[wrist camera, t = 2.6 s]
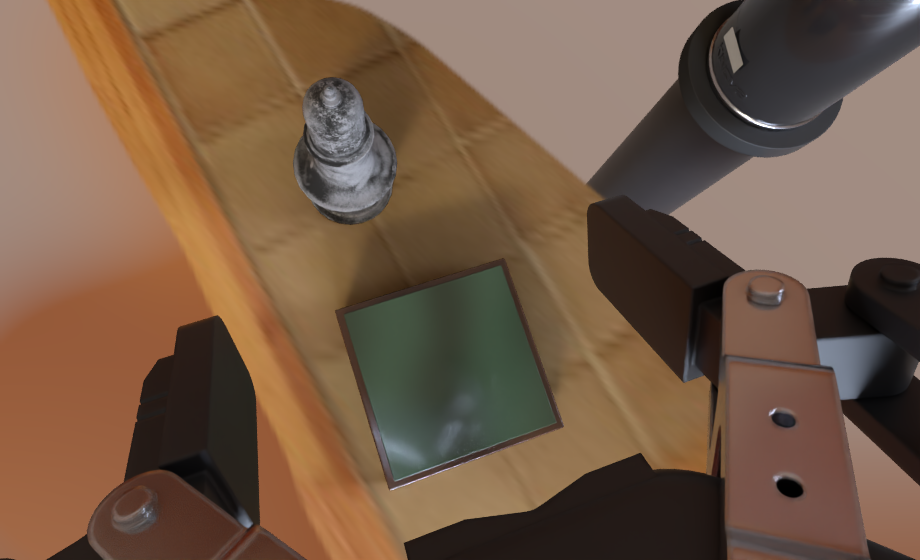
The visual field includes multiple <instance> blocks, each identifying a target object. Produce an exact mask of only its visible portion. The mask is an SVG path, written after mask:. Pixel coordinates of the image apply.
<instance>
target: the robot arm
mask: <svg viewBox="0 0 920 560" xmlns="http://www.w3.org/2000/svg"><path fill="white" fill-rule="evenodd" d="M918 46H920V0H745V1H744V2H743V3H742V4H741V5H740V6H739V8H738V9H737V10H736V11H735V12H734V13H733V14H732V16H731V17H730V18H728V19H727V20H726V21H725V22H724V23H723V24H722V25H721V26H720V27H719V29H718V30H717V31H716V32H715V33H714V35H713V36H712V38H711V40H710V42H709V45H708V48H707V52H706V73H707V77H708V81H709V84H710V86H711V88H712V90H713V92H714V94H715V96H716V97H717V99H718V100H719V102H720V103H721V104H722V105H723V106H724V108H725V109H726V110H727V111H728V112H729V113H731V114H732V115H733V116H734V117H736V118H737V119H739V120H740V121H742V122H744V123H745V124H747V125H750V126H752V127H755V128H757V129H761V130H766V131H774V132H782V131H789V130H793V129H796V128H799V127H801V126H803V125H805V124H807V123H808V122H810V121H811V120H813V119H814V118H816V117H817V116H818V115H819V114H821V112H822V111H824V110H825V109H826V108H828V107H829V106H831V105H832V104H834V103H835V102H837V101H838V100H840V99H841V98H843V97H844V96H846V95H847V94H849V93H850V92H852V91H853V90H855V89H856V88H858V87H859V86H861V85H862V84H864V83H865V82H867V81H868V80H870V79H871V78H873V77H874V76H876V75H877V74H879V73H880V72H881V71H883V70H884V69H886V68H887V67H889V66H890V65H892V64H893V63H895V62H896V61H898V60H899V59H901V58H902V57H904V56H905V55H907V54H908V53H909V52H911V51H912V50H914V49H915V48H917V47H918ZM587 227H588V259H589V269H590V273H591V276H592V278H593V281H594V283H595V284H596V286H597V288H598V289H599V290H600V291H601V292H602V293H603V295H604V296H605V297H606V298H607V299H608V300H609V301H610V302H611V303H612V304H613V306H614V307H615V308H616V309H617V310H618V311H619V312H620V313H621V314H622V315H623V317H624V318H625V319H626V320H627V321H628V322H629V323H630V324H631V325H632V326H633V328H634V329H635V330H636V331H637V332H638V333H639V334H640V335H641V336H642V337H643V339H644V340H645V341H646V342H647V343H648V344H649V345H650V346H651V347H652V348H653V350H654V351H655V352H656V353H657V354H658V355H659V356H660V357H661V358H662V359H663V361H664V362H665V363H666V364H667V365H668V366H669V367H670V368H671V369H672V370H673V372H674V373H675V374H676V375H677V376H678V377H679V378H680V379H681V380H682V381H683V383H685V382H687V381H690V380H693V379H696V378H698V377H701V376H704V375H705V376H706V377H707V378H708V379H709V380H710V381H711V383H710V391H709V412H708V442H707V468H706V474H705V473H700V472H695V471H689V470H679V469H657V470H653V469H652V468H651V467H650V465H649V464H648V462H647V461H646V460H645V458H644V457H643V455H642V454H641V453H639V454H636V455H634V456H631V457H628V458H626V459H623V460H621V461H618V462H615V463H613V464H610V465H607V466H605V467H602V468H599V469H597V470H594V471H592V472H589V473H586V474H585V475H583V476H582V477H580V478H579V479H577V480H576V481H575V482H573V483H572V484H570V485H569V486H568V487H566V488H565V489H563V490H562V491H561V492H559V493H558V494H556V495H555V496H553V497H552V498H551V499H549V500H548V501H546V502H545V503H544V504H542V505H541V506H539V507H538V508H536V509H534V510H531V511H527V512H521V513H513V514H505V515H497V516H489V517H482V518H474V519H466V520H463V521H460V522H458V523H455V524H452V525H450V526H447V527H444V528H442V529H439V530H436V531H434V532H431V533H429V534H426V535H423V536H421V537H418V538H415V539H413V540H410V541H408V542H405V543H404V546H405V550H406V554H407V558H408V560H915V559H913V558H910V557H908V556H906V555H903V554H901V553H899V552H896V551H894V550H891V549H889V548H887V547H884V546H882V545H880V544H877V543H875V542H872V541H870V540H868V539H866V535H865V530H864V524H863V519H862V514H861V509H860V503H859V498H858V493H857V487H856V481H855V476H854V471H853V465H852V460H851V455H850V449H849V444H848V439H847V433H846V428H845V423H844V417H843V414H844V415H845V416H846V417H847V418H848V419H849V420H851V421H852V422H853V423H854V424H855V425H856V426H857V427H858V428H859V429H860V430H861V431H862V432H863V433H864V434H865V435H866V436H868V437H869V438H870V439H871V440H872V441H873V442H874V443H875V444H876V445H877V446H878V447H879V448H880V449H881V450H882V451H883V452H884V453H885V454H887V455H888V456H889V457H890V458H891V459H892V460H893V461H894V462H895V463H896V464H897V465H898V466H899V467H900V468H901V469H902V470H903V471H905V472H906V473H907V474H908V475H909V476H910V477H911V478H912V479H913V480H914V481H915V482H916V483H917V484H918V485H920V380H919V379H918V378H916V377H915V376H914V372H915V370H916V367H917V365H918V363H919V362H920V264H918V263H915V262H911V261H907V260H903V259H896V258H874V259H869V260H865V261H863V262H860V263H859V264H857V265H856V266H855V267H854V268H853V270H852V272H851V276H850V279H849V282H848V285H845V286H833V287H822V288H811V289H806V288H805V287H804V286H803V284H801V283H800V282H799V281H797V280H796V279H794V278H792V277H790V276H788V275H785V274H782V273H779V272H775V271H769V270H748V271H745V270H744V269H743V268H741V267H740V266H738V265H737V264H736V263H734V262H733V261H732V260H730V259H729V258H728V257H726V256H725V255H724V254H722V253H721V252H720V251H718V250H717V249H716V248H714V247H713V246H712V245H710V244H709V243H708V242H706V241H705V240H704V241H702V239H701V237H700V236H698V235H697V234H695V233H694V232H693V231H689V228H687V227H686V226H685V225H683V224H682V223H681V222H679V221H678V220H677V219H675V218H674V217H672V216H669V215H667V214H664V213H661V212H658V211H655V210H652V209H649V210H646V211H645V210H644V209H642V208H641V207H640V206H638V205H637V204H636V203H635V202H633V201H632V200H631V199H629V198H628V197H627V196H625V195H619V196H616V197H612V198H609V199H606V200H602V201H599V202H596V203H593V204H590V205H589V207H588V211H587ZM140 403H141V405H139V408H138V413H137V422H136V423H135V428H134V433H133V438H132V443H131V448H130V453H129V458H128V463H127V468H126V473H125V478H124V482H123V483H122V484H120V485H119V486H118V487H116V488H115V489H114V490H113V491H111V492H110V493H109V494H108V495H107V496H106V497H105V498H104V499H103V500H102V501H101V503H100V504H99V505H98V507H97V508H96V509H95V511H94V513H93V515H92V517H91V519H90V521H89V524H88V529H87V534H86V535H85V536H84V537H82V538H81V539H79V540H78V541H76V542H75V543H73V544H71V545H70V546H68V547H67V548H65V549H63V550H62V551H60V552H58V553H57V554H55V555H53V556H52V557H50V558H48V559H47V560H306V559H305V558H304V557H302V556H301V555H300V554H298V553H297V552H296V551H294V550H293V549H292V548H290V547H288V545H286V544H285V543H284V542H282V541H281V540H279V539H278V538H277V537H275V536H274V535H273V534H271V533H270V532H269V531H267V530H266V529H264V528H262V527H261V526H260V512H259V483H258V482H259V481H258V451H257V417H256V396H255V390H254V386H253V383H252V380H251V377H250V374H249V372H248V370H247V367H246V366H245V364H244V362H243V360H242V358H241V356H240V354H239V352H238V350H237V348H236V346H235V344H234V342H233V340H232V338H231V336H230V334H229V332H228V330H227V328H226V326H225V324H224V322H223V321H222V319H221V318H220V317H219V316H213V317H210V318H207V319H203V320H200V321H197V322H194V323H191V324H187V325H184V326H180V327H179V328H178V330H177V336H176V343H175V350H174V355H171V356H168V357H165V358H162V359H159V360H158V361H157V362H156V364H155V365H154V367H153V368H152V370H151V371H150V373H149V374H148V375H147V377H146V378H145V380H144V382H143V387H142V393H141V397H140ZM0 560H14V559H8V558H6V559H0Z"/></svg>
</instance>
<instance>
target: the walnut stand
mask: <svg viewBox="0 0 920 560" xmlns="http://www.w3.org/2000/svg"><path fill="white" fill-rule="evenodd" d="M335 313H336V316H337V320H338V323H339V326H340V329H341V333H342V336H343V339H344V343H345V346H346V349H347V353H348V356H349V359H350V362H351V366H352V369H353V372H354V376H355V379H356V382H357V386H358V389H359V392H360V395H361V399H362V402H363V405H364V409H365V412H366V415H367V419H368V422H369V425H370V428H371V432H372V435H373V438H374V442H375V445H376V448H377V452H378V455H379V458H380V461H381V465H382V468H383V471H384V475H385V478H386V481H387V485H388V488H389V490H393V489H396V488H399V487H402V486H404V485H407V484H410V483H412V482H415V481H418V480H421V479H423V478H426V477H429V476H432V475H434V474H437V473H440V472H443V471H445V470H448V469H451V468H454V467H456V466H459V465H462V464H465V463H467V462H470V461H473V460H475V459H478V458H481V457H484V456H486V455H489V454H492V453H495V452H497V451H500V450H503V449H506V448H508V447H511V446H514V445H517V444H519V443H522V442H525V441H528V440H530V439H533V438H536V437H538V436H541V435H544V434H547V433H549V432H552V431H555V430H558V429H560V428H563V427H564V425H563V422H562V419H561V416H560V413H559V411H558V408H557V405H556V402H555V399H554V396H553V394H552V391H551V388H550V385H549V382H548V380H547V377H546V374H545V371H544V368H543V365H542V363H541V360H540V357H539V354H538V351H537V349H536V346H535V343H534V340H533V337H532V334H531V332H530V329H529V326H528V323H527V320H526V318H525V315H524V312H523V309H522V306H521V304H520V301H519V298H518V295H517V292H516V289H515V287H514V284H513V281H512V278H511V275H510V273H509V270H508V267H507V264H506V261H505V259H504V258H502V259H499V260H496V261H493V262H489V263H486V264H483V265H480V266H477V267H473V268H470V269H467V270H464V271H460V272H457V273H454V274H451V275H448V276H444V277H441V278H438V279H435V280H432V281H428V282H425V283H422V284H419V285H415V286H412V287H409V288H406V289H403V290H399V291H396V292H393V293H390V294H386V295H383V296H380V297H377V298H374V299H370V300H367V301H364V302H361V303H358V304H354V305H351V306H348V307H345V308H341V309H338V310H336V311H335Z"/></svg>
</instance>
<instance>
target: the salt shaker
mask: <svg viewBox="0 0 920 560" xmlns="http://www.w3.org/2000/svg"><path fill="white" fill-rule="evenodd" d="M302 108H303V115H304V118H305V121H306V123H305V125H304V132H303V136H302V137H301V138H300V140H299V142H298V145H297V147H296V149H295V153H294V160H293V166H294V174H295V177H296V179H297V182H298V184H299V186H300V188H301V189H302V191H303V192H304V193H305V194H306V196H307V197H308V198H309V199H311V200H312V203H313V205H314V206H315V207H316V209H317V210H318V211H319V212H320V213H321V214H322V215H324V216H325V217H326V218H328V219H329V220H332V221H335V222H337V223H341V224H350V225H352V224H359V223H363V222H366V221H368V220H371V219H373V218H374V217H375V216H377V215H378V214H379V213H381V211H382V210H383V209H384V208H385V206H386V205H387V204H388V201H389V199H390V196H391V193H392V183H393V181H394V178H395V176H396V168H397V159H396V153H395V149H394V147H393V145H392V143H391V141H390V139H389V137H388V136H387V135H386V134H385V133H384V131H383V130H382V129H381V128H379V127H378V126H376V125H375V124H374V123H372V122H371V119H370V117H369V116H368V115H367V113H366V112H365V111H364V108H363V101H362V98H361V96H360V94H359V92H358V91H357V89H356V88H355V87H354V86H353V85H352V84H351V83H349V82H348V81H346V80H343V79H341V78H334V77H331V78H324V79H321V80H319V81H317V82H316V83H314V84H313V85H311V87H310V88H309V89H308V90H307V92H306V94H305V96H304V100H303V107H302Z"/></svg>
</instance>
